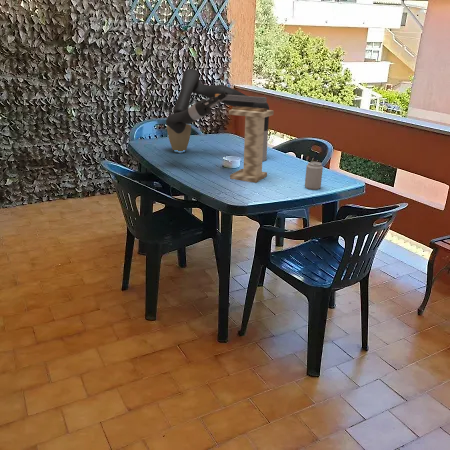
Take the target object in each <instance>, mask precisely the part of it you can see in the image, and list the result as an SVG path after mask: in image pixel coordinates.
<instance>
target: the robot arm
mask: <svg viewBox="0 0 450 450" xmlns="http://www.w3.org/2000/svg"><path fill="white" fill-rule="evenodd" d="M192 94H196V95H199V96H203V97H206V98H208V99H203V98H202V99H200V100H199V101H197V102H196V103H193V104H192V105H191V106H190V104H191V103H190V102H191V98H192ZM215 94H220V95H219V96H216V97H215ZM226 94H227V95H240V96H248V95H246V94H245V93H243V92H241V91H239V90H237V89H235V88H232V87H231V86H227V85H225V84H215V85H214V84H213V85H208V84H205V83H202V82H200V74H199V71H198V70H197V69H194V68H188V69H185V71H184V72H183V74H182V80H181V88H180V91H179V94H178V96H177V99H176V101H175V105H174V108H173V110H172V111H173V112H172V114H170V115H168V117H167V118H166V120H165V123H166V126H167V125H168V126H169V127H170V128H171V129H172V130H173V131H174V132H176V133H178V134H179V133H182V132H183V131H184V130H185V127H186V124H188V125H191V124H192V123H194V122H195V121H197V120H199V119H202V118H204V117H206V116H207V115H209V114H210V113H211V112H212V108H215V107H216V106H217V105H219V104H220V103H222V104H225V105H227V106H230V107H236V106H240V107H252V108H264V109H267V110H270V105H269V104H268V102H267V103H255V102H243V101H230V100H221V99H223V98H225V97H226ZM269 118H270V116H268V117H265V120H264V140H263V159H262V162H265V161H267V157H268V155H267V154H268V137H269V122H270V121H269V120H270V119H269Z"/></svg>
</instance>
